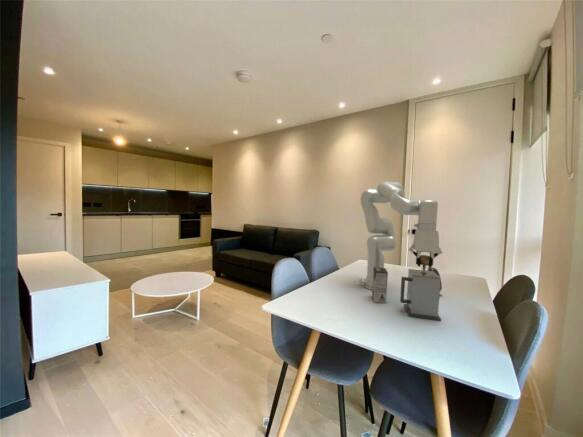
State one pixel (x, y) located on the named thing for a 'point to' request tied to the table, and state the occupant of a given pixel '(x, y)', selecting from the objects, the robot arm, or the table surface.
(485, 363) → the table surface
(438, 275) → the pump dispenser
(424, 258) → the plunger
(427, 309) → the press
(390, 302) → the table surface
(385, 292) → the coffee box
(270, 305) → the table surface
